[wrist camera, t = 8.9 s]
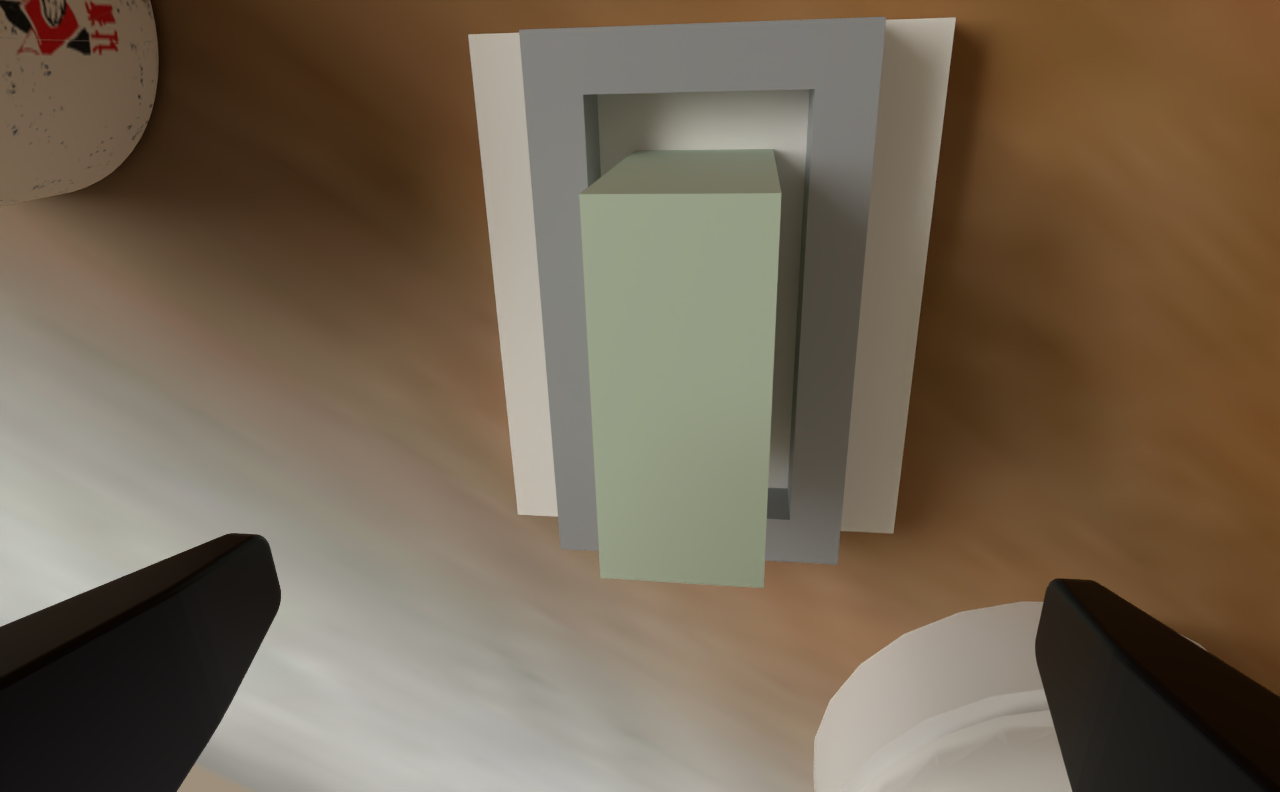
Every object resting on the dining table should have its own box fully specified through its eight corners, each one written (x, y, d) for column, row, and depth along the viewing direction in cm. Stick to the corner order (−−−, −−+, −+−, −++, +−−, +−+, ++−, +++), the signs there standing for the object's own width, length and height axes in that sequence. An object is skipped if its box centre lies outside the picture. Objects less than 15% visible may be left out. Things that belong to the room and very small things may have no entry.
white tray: (944, 20, 16) (976, 13, 14) (887, 513, 21) (903, 568, 19) (482, 35, 18) (442, 32, 15) (527, 495, 22) (502, 545, 20)
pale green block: (761, 439, 20) (763, 587, 14) (642, 435, 20) (600, 577, 14) (772, 148, 17) (781, 193, 11) (635, 150, 17) (578, 194, 12)
